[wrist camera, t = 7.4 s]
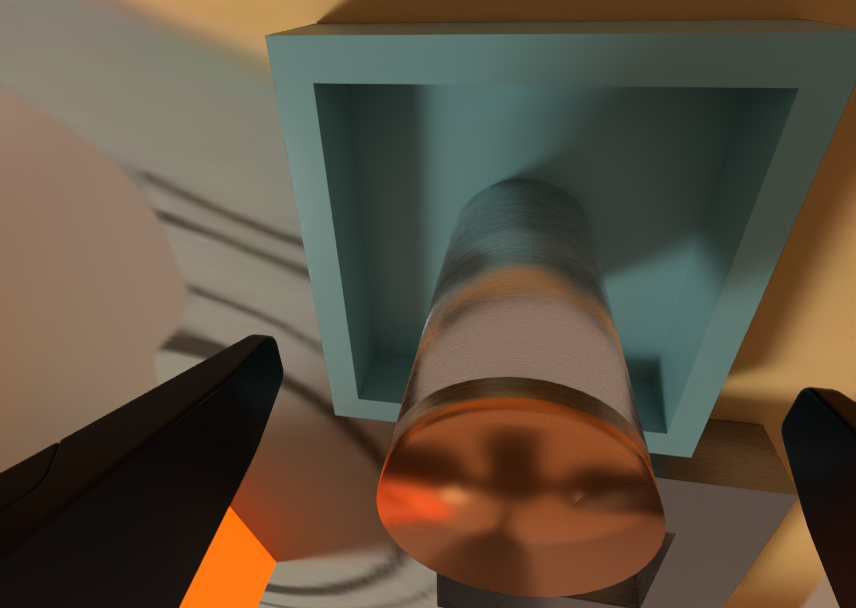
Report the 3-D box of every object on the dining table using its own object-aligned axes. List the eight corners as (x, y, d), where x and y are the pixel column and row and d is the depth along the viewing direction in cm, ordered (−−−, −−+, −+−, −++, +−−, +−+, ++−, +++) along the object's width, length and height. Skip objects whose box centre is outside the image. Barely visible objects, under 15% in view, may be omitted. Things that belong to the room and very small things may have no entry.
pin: (580, 308, 13) (630, 614, 7) (450, 299, 14) (385, 574, 7) (604, 181, 11) (704, 448, 5) (450, 176, 12) (364, 410, 5)
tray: (669, 391, 15) (691, 457, 13) (358, 360, 17) (335, 415, 15) (803, 19, 9) (878, 31, 7) (314, 23, 11) (265, 36, 9)
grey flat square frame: (677, 585, 21) (692, 651, 19) (446, 548, 22) (437, 606, 20) (762, 425, 15) (798, 495, 13) (446, 391, 17) (434, 449, 15)
